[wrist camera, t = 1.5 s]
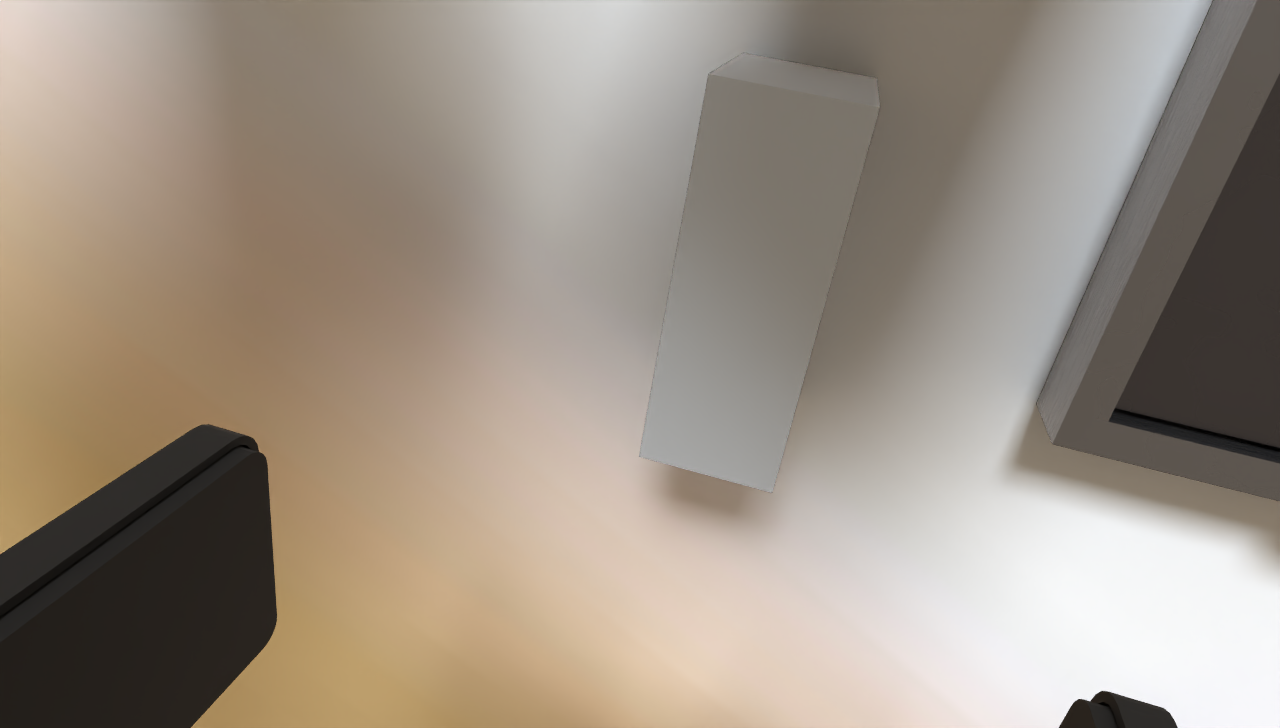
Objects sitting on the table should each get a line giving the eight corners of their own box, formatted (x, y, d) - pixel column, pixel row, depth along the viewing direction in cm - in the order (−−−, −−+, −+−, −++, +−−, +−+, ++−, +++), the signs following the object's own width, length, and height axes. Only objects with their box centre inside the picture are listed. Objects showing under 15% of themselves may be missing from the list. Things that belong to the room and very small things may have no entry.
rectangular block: (743, 52, 21) (708, 73, 17) (876, 77, 21) (880, 107, 16) (681, 367, 26) (638, 457, 21) (790, 394, 25) (772, 492, 20)
